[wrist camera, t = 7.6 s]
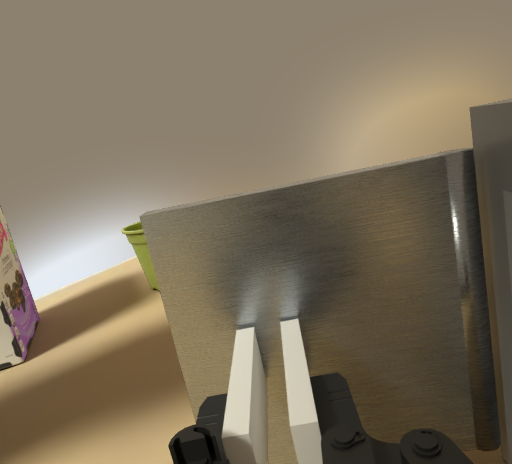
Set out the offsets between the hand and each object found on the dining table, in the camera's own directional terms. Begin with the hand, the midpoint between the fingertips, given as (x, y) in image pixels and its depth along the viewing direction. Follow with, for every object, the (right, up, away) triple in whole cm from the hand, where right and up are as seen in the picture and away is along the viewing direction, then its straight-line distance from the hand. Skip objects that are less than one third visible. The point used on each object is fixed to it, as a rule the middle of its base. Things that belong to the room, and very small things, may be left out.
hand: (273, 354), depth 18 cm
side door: (+4, -5, +2) cm, 7 cm away
